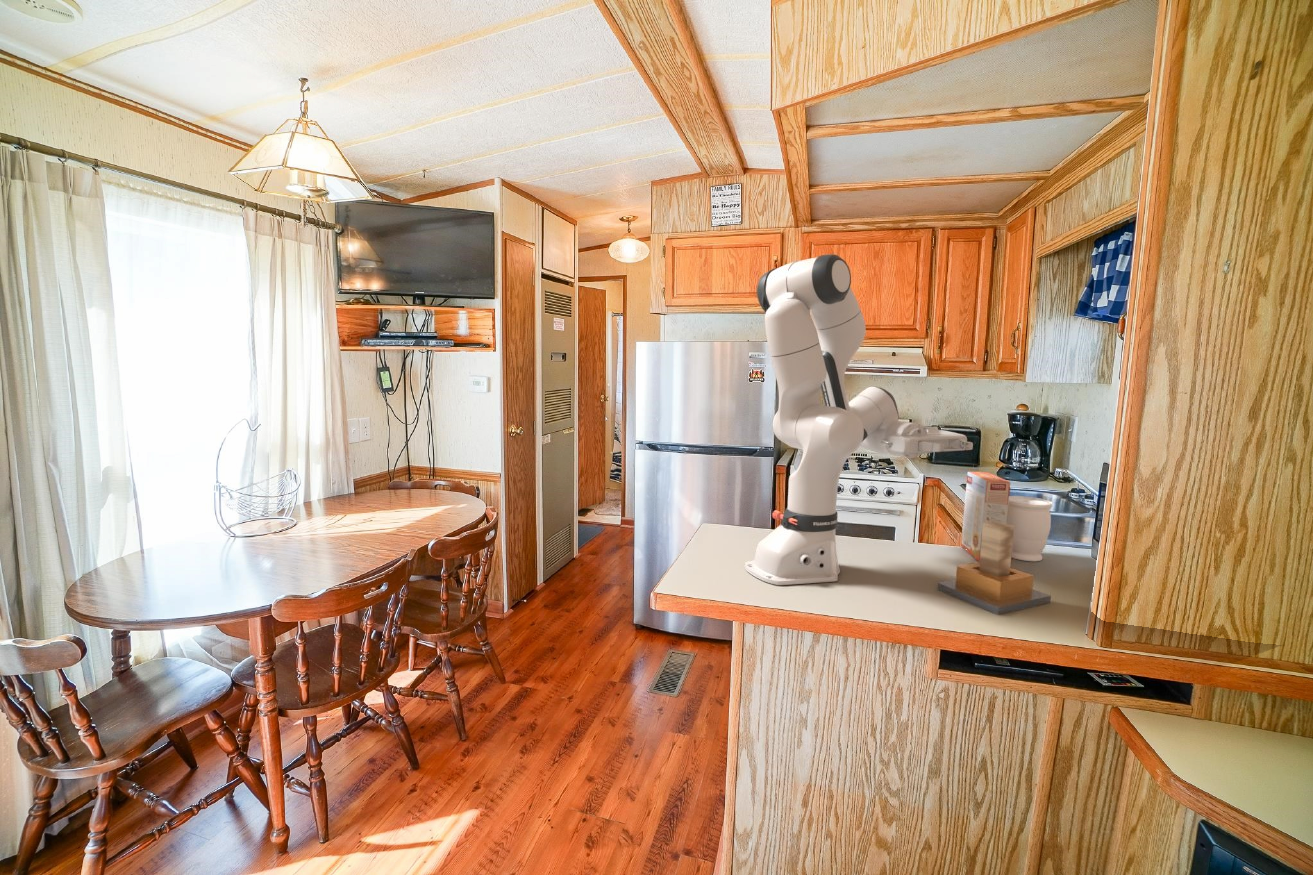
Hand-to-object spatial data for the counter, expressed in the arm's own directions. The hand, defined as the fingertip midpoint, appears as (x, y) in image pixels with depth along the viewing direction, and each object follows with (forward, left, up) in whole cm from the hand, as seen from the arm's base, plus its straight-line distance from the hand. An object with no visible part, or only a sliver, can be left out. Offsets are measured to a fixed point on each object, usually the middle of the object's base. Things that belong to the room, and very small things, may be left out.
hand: (956, 447), depth 131 cm
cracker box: (+21, +7, -30) cm, 37 cm away
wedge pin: (-2, -13, -28) cm, 31 cm away
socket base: (-2, -13, -30) cm, 33 cm away
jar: (+30, +2, -30) cm, 43 cm away
